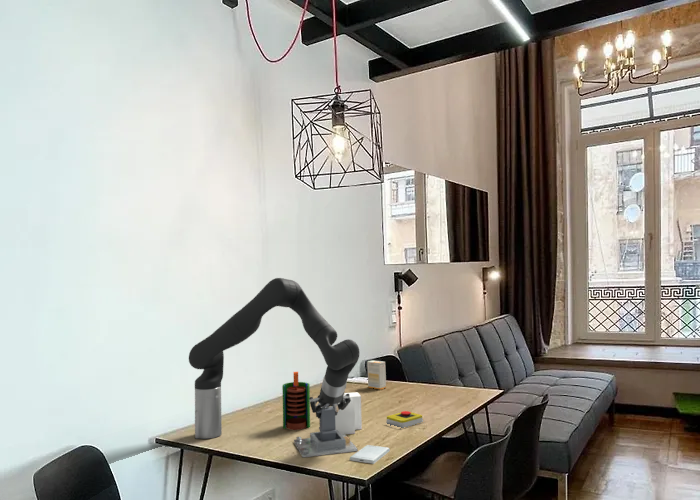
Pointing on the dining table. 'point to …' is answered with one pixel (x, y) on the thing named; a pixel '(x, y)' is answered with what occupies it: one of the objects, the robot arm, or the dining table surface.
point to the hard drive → (370, 454)
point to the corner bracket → (349, 415)
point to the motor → (296, 404)
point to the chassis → (324, 445)
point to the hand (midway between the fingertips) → (325, 415)
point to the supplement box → (376, 374)
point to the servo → (327, 424)
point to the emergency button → (404, 419)
